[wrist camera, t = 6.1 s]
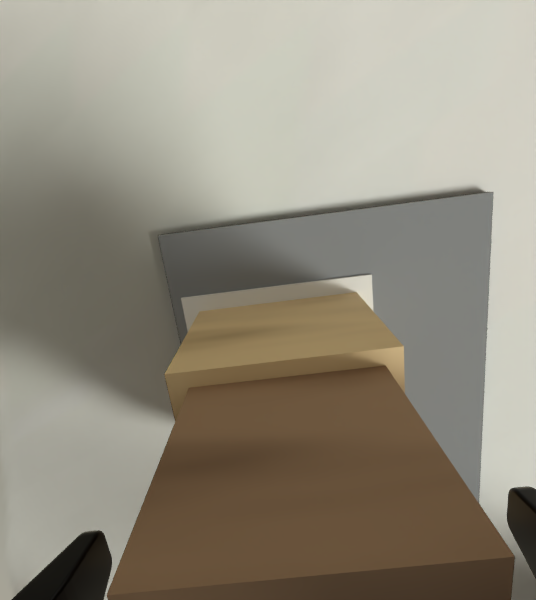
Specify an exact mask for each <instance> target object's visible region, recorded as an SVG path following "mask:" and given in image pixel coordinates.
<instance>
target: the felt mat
mask: <svg viewBox="0 0 536 600" xmlns="http://www.w3.org/2000/svg"><path fill="white" fill-rule="evenodd" d="M492 210H493V192H483V193H475V194H468V195H460V196H452V197H445V198H437V199H429V200H422V201H414V202H407V203H399V204H391V205H384V206H376V207H368V208H361V209H353V210H345V211H338V212H330V213H322V214H315V215H307V216H300V217H292V218H284V219H277V220H269V221H261V222H254V223H246V224H238V225H231V226H223V227H216V228H208V229H200V230H193V231H185V232H177V233H170V234H162V235H159V236H158V239H159V244H160V249H161V253H162V258H163V263H164V268H165V272H166V277H167V282H168V286H169V291H170V296H171V300H172V305H173V310H174V315H175V319H176V324H177V329H178V333H179V338H180V343H181V344H182V342H183V340H184V338H185V336H186V335H187V333H188V331H189V329H190V327H191V326H192V324H193V322H194V320H195V318H196V317H197V315H198V313H199V311H207V310H215V309H223V308H231V307H239V306H247V305H256V304H264V303H272V302H280V301H288V300H296V299H304V298H312V297H321V296H329V295H337V294H345V293H353V292H357V293H358V294H359V296H360V297H361V298H362V299H363V300H364V301H365V302H366V304H367V305H368V306H369V307H370V308H371V309H372V310H373V312H374V313H375V314H376V315H377V316H378V317H379V318H380V320H381V321H382V322H383V323H384V324H385V325H386V326H387V328H388V329H389V330H390V331H391V332H392V333H393V335H394V336H395V337H396V338H397V339H398V340H399V341H400V343H401V344H402V345H403V346H404V375H405V395H406V396H407V398H408V399H409V401H410V402H411V404H412V405H413V407H414V408H415V410H416V411H417V413H418V414H419V415H420V417H421V418H422V420H423V421H424V423H425V424H426V426H427V427H428V429H429V430H430V432H431V433H432V435H433V436H434V438H435V439H436V441H437V442H438V444H439V445H440V447H441V448H442V450H443V451H444V453H445V454H446V456H447V457H448V458H449V460H450V461H451V463H452V464H453V466H454V467H455V469H456V470H457V472H458V473H459V475H460V476H461V478H462V479H463V481H464V482H465V484H466V485H467V487H468V488H469V490H470V491H471V493H472V494H473V496H474V497H475V499H476V500H477V501H478V503H479V490H480V469H481V447H482V426H483V404H484V382H485V361H486V339H487V318H488V296H489V275H490V253H491V232H492Z"/></svg>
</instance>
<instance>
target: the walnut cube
mask: <svg viewBox="0 0 536 600" xmlns="http://www.w3.org/2000/svg"><path fill="white" fill-rule="evenodd" d="M514 559H515V556H514V555H513V553H512V552H511V550H510V549H509V547H508V546H507V544H506V543H505V542H504V540H503V539H502V537H501V536H500V534H499V533H498V531H497V530H496V528H495V527H494V525H493V524H492V522H491V521H490V519H489V518H488V516H487V515H486V513H485V512H484V510H483V509H482V507H481V506H480V504H479V503H478V501H477V500H476V499H475V497H474V496H473V494H472V493H471V491H470V490H469V488H468V487H467V485H466V484H465V482H464V481H463V479H462V478H461V476H460V475H459V473H458V472H457V470H456V469H455V467H454V466H453V464H452V463H451V461H450V460H449V458H448V457H447V456H446V454H445V453H444V451H443V450H442V448H441V447H440V445H439V444H438V442H437V441H436V439H435V438H434V436H433V435H432V433H431V432H430V430H429V429H428V427H427V426H426V424H425V423H424V421H423V420H422V418H421V417H420V415H419V414H418V413H417V411H416V410H415V408H414V407H413V405H412V404H411V402H410V401H409V399H408V398H407V396H406V395H405V393H404V392H403V390H402V389H401V387H400V386H399V384H398V383H397V381H396V380H395V378H394V377H393V375H392V374H391V372H390V371H389V370H388V368H387V367H386V365H385V366H376V367H367V368H358V369H350V370H341V371H332V372H323V373H314V374H306V375H297V376H288V377H279V378H270V379H262V380H253V381H244V382H235V383H226V384H217V385H209V386H200V387H191V388H189V389H188V391H187V394H186V396H185V399H184V401H183V404H182V406H181V409H180V411H179V414H178V416H177V419H176V421H175V424H174V426H173V429H172V432H171V434H170V437H169V439H168V442H167V444H166V447H165V449H164V452H163V454H162V457H161V459H160V462H159V464H158V467H157V469H156V472H155V475H154V477H153V480H152V482H151V485H150V487H149V490H148V492H147V495H146V497H145V500H144V502H143V505H142V507H141V510H140V512H139V515H138V517H137V520H136V523H135V525H134V528H133V530H132V533H131V535H130V538H129V540H128V543H127V545H126V548H125V550H124V553H123V555H122V558H121V560H120V563H119V566H118V568H117V571H116V573H115V576H114V578H113V581H112V583H111V586H110V588H109V591H108V593H107V598H108V600H511V593H512V582H513V570H514Z"/></svg>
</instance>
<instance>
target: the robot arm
mask: <svg viewBox="0 0 536 600" xmlns="http://www.w3.org/2000/svg"><path fill="white" fill-rule="evenodd" d="M507 522H508V525H509V528H510V530H511V532H512V534H513V536H514V538H515V540H516V542H517V544H518V546H519V548H520V549H521V551H522V553H523V555H524V557H525V559H526V561H527V563H528V565H529V567H530V569H531V570H532V572H533V574H534V576H535V578H536V489H534V488H532V487H517V488H512V489H510V491H509V494H508V508H507ZM111 567H112V557H111V554H110V551H109V548H108V545H107V542H106V539H105V536H104V533H103V532H102V531H99V530H98V531H89V532H84V533H82V534H80V535H79V536H78V537H77V538H76V539H75V540H74V541H73V542H72V543H71V544H70V545H69V546H68V547H67V548H65V549H64V550H63V551H62V552H61V553H60V554H59V555H58V556H57V557H56V558H55V559H54V560H53V561H52V562H51V563H50V564H49V565H48V566H47V567H45V568H44V569H43V570H42V571H41V572H40V573H39V574H38V575H37V576H36V577H35V578H34V579H33V580H32V581H31V582H30V583H29V584H28V585H26V586H25V587H24V588H23V589H22V590H21V591H20V592H19V593H18V594H17V595H16V596H15V597H14V598H13V599H12V600H104V596H105V592H106V588H107V584H108V580H109V576H110V572H111Z"/></svg>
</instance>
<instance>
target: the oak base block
mask: <svg viewBox="0 0 536 600" xmlns="http://www.w3.org/2000/svg"><path fill="white" fill-rule="evenodd" d="M385 365H386V367H387V368H388V370H389V371H390V372H391V374H392V375H393V377H394V378H395V380H396V381H397V383H398V384H399V386H400V387H401V389H402V390H403V392H404V393H405V375H404V346H403V345H402V344H401V343H400V341H399V340H398V339H397V338H396V337H395V336H394V335H393V333H392V332H391V331H390V330H389V329H388V328H387V326H386V325H385V324H384V323H383V322H382V321H381V320H380V318H379V317H378V316H377V315H376V314H375V313H374V312H373V310H372V309H371V308H370V307H369V306H368V305H367V304H366V302H365V301H364V300H363V299H362V298H361V297H360V296H359V294H358V293H357V292H353V293H345V294H337V295H329V296H321V297H312V298H304V299H296V300H288V301H280V302H272V303H264V304H256V305H247V306H239V307H231V308H223V309H215V310H207V311H199V313H198V315H197V317H196V318H195V320H194V322H193V324H192V326H191V327H190V329H189V331H188V333H187V335H186V336H185V338H184V340H183V342H182V344H181V345H180V347H179V349H178V351H177V353H176V354H175V356H174V358H173V360H172V362H171V363H170V365H169V367H168V369H167V371H166V372H165V374H164V375H165V379H166V384H167V388H168V392H169V397H170V401H171V405H172V410H173V414H174V418H175V421H176V419H177V416H178V414H179V411H180V409H181V406H182V404H183V401H184V399H185V396H186V394H187V391H188V389H189V388H191V387H200V386H209V385H217V384H226V383H235V382H244V381H253V380H262V379H270V378H279V377H288V376H297V375H306V374H314V373H323V372H332V371H341V370H350V369H358V368H367V367H376V366H385Z"/></svg>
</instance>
